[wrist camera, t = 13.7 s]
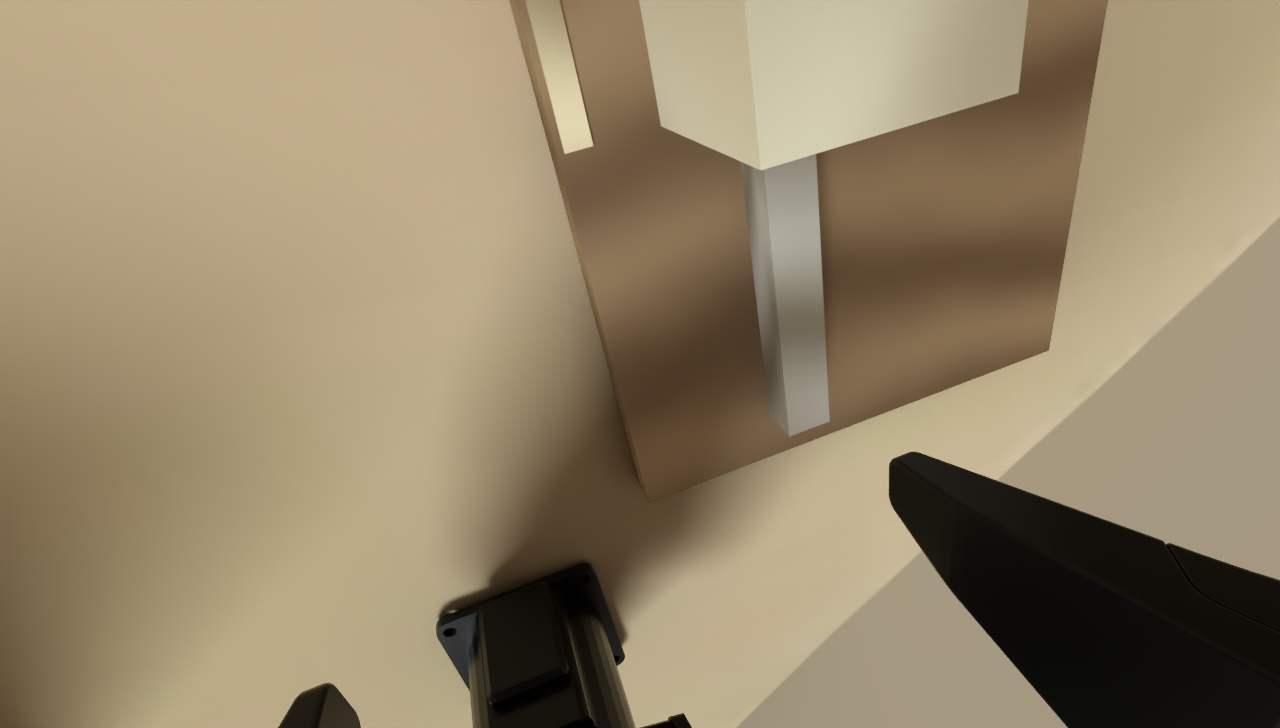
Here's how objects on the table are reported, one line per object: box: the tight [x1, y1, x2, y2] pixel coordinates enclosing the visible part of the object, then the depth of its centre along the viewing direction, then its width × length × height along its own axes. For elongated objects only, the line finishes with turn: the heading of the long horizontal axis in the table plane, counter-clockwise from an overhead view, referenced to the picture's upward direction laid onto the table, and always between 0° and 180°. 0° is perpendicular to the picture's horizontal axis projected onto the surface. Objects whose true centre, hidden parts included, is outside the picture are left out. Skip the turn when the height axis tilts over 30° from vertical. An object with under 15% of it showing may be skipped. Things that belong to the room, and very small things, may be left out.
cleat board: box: [510, 0, 1108, 502], centre depth 19 cm, size 24×18×3 cm
